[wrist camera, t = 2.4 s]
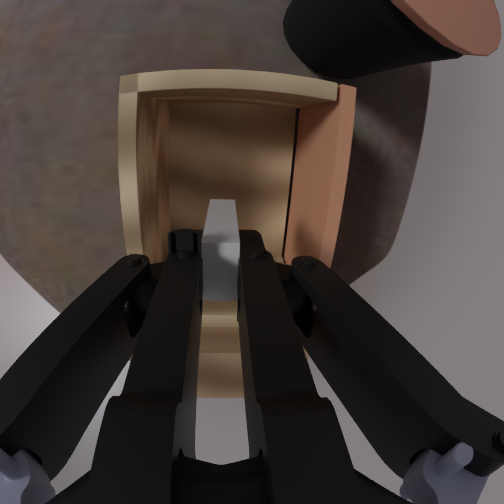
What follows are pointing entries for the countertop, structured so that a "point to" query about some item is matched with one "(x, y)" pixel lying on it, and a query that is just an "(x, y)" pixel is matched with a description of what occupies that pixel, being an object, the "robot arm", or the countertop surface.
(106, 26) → the countertop surface
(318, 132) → the panel
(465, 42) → the coffee jar
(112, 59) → the countertop surface
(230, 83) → the box
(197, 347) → the robot arm
